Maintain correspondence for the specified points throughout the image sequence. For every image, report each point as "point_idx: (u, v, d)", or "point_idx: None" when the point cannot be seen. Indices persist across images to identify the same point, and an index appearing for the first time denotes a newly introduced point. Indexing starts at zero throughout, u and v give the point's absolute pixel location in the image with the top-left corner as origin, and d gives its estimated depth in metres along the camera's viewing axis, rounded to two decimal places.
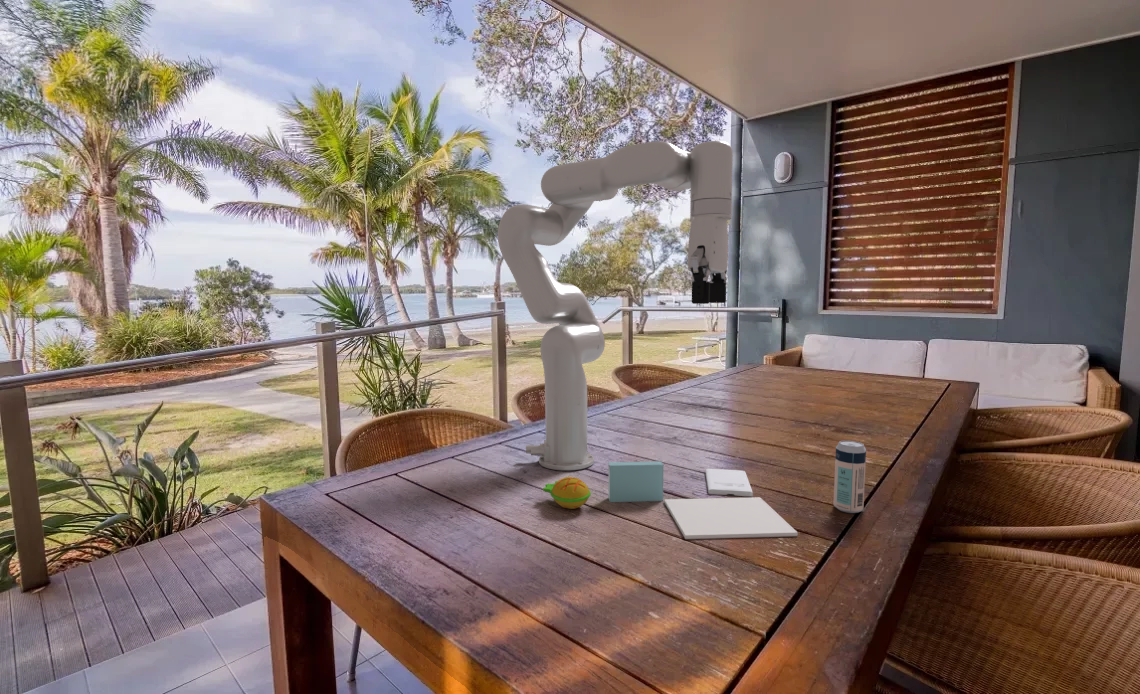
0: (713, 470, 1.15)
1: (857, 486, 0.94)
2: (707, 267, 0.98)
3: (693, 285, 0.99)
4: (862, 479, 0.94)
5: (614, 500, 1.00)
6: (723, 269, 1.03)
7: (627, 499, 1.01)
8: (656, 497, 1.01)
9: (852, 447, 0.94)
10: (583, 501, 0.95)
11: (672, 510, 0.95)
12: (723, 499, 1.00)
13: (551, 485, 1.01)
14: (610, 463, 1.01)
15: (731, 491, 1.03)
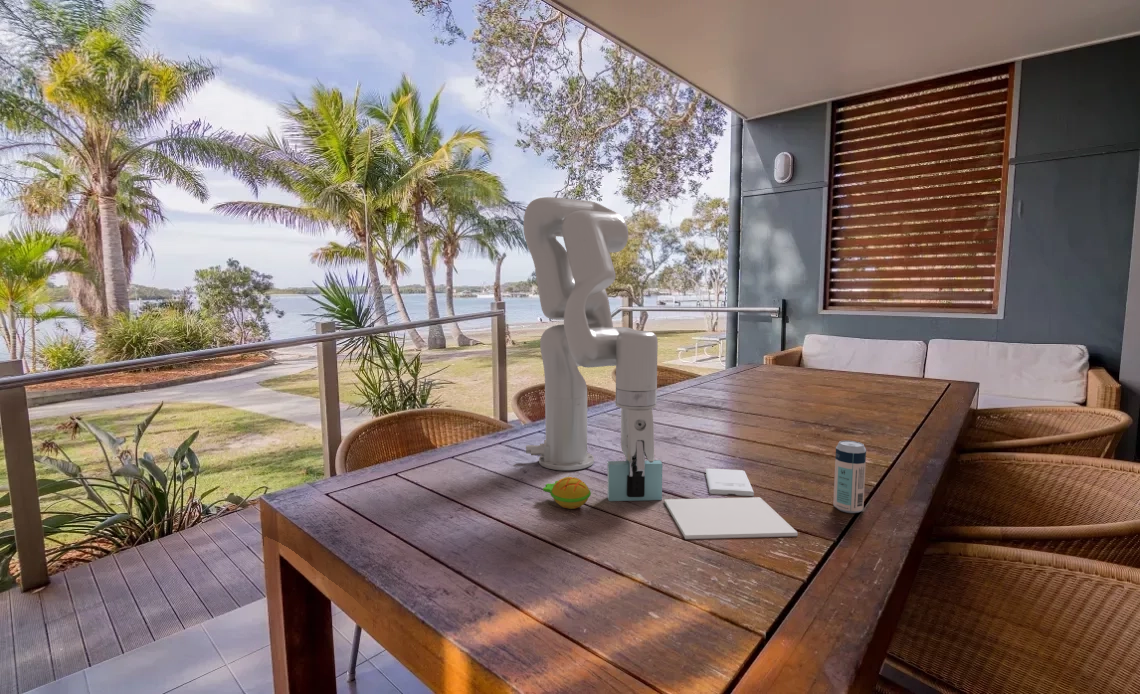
0: (713, 470, 1.15)
1: (857, 486, 0.94)
2: None
3: None
4: (862, 479, 0.94)
5: (613, 499, 1.01)
6: (626, 457, 0.99)
7: (626, 498, 1.01)
8: (655, 496, 1.01)
9: (852, 447, 0.94)
10: (583, 501, 0.95)
11: (672, 510, 0.95)
12: (723, 499, 1.00)
13: (551, 485, 1.01)
14: (609, 462, 1.01)
15: (732, 491, 1.04)
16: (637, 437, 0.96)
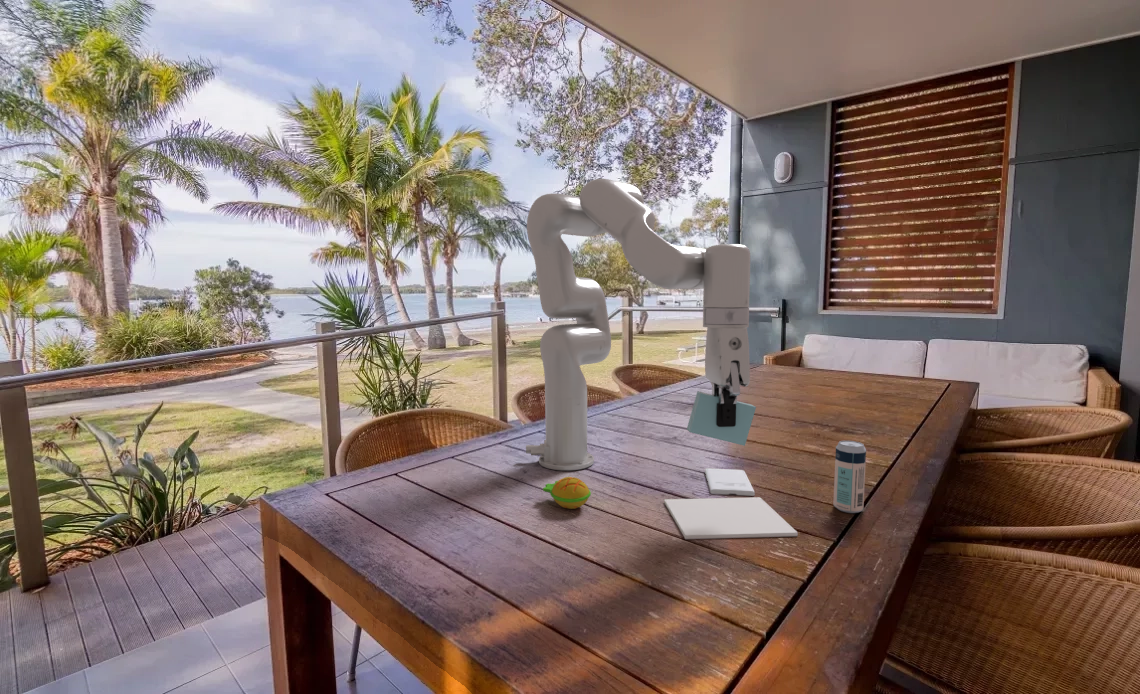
0: (713, 470, 1.15)
1: (857, 486, 0.94)
2: None
3: None
4: (862, 479, 0.94)
5: (695, 431, 0.93)
6: (716, 382, 0.91)
7: (708, 434, 0.93)
8: (739, 440, 0.93)
9: (851, 447, 0.94)
10: (583, 501, 0.95)
11: (672, 510, 0.95)
12: (723, 499, 1.00)
13: (551, 485, 1.01)
14: (700, 392, 0.93)
15: (733, 491, 1.04)
16: (732, 357, 0.88)
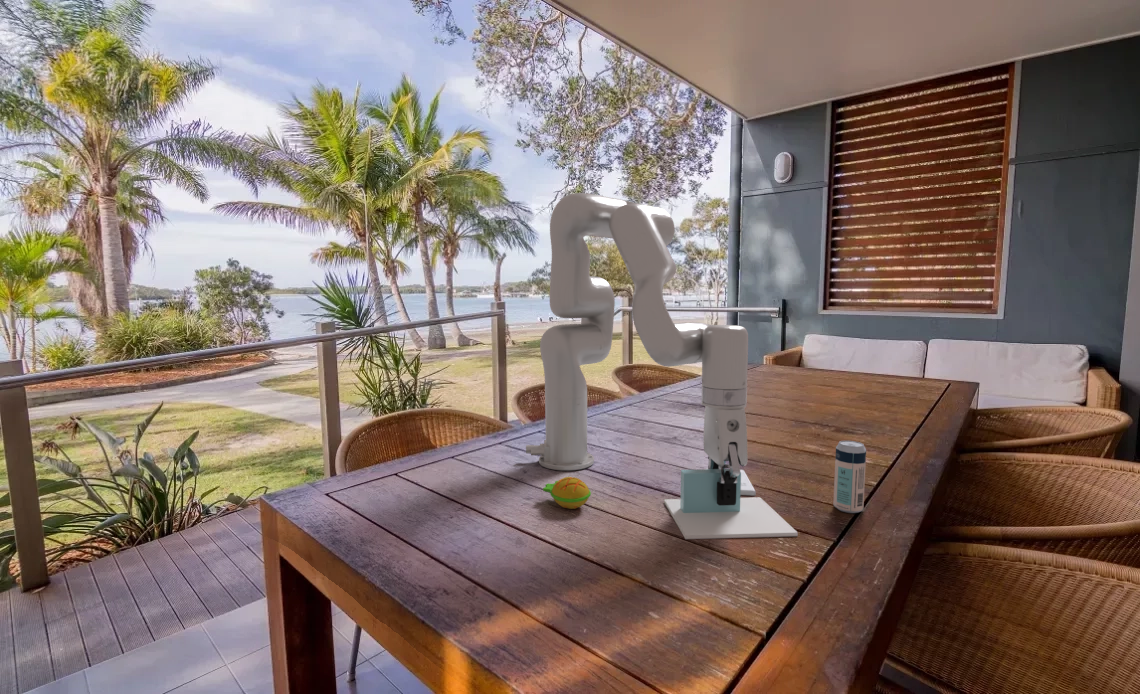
0: None
1: (857, 486, 0.94)
2: None
3: None
4: (862, 479, 0.94)
5: (688, 510, 0.94)
6: (714, 461, 0.92)
7: (702, 509, 0.94)
8: (733, 507, 0.94)
9: (852, 447, 0.94)
10: (583, 501, 0.95)
11: (672, 510, 0.95)
12: None
13: (551, 485, 1.01)
14: (683, 471, 0.94)
15: None
16: (730, 438, 0.89)
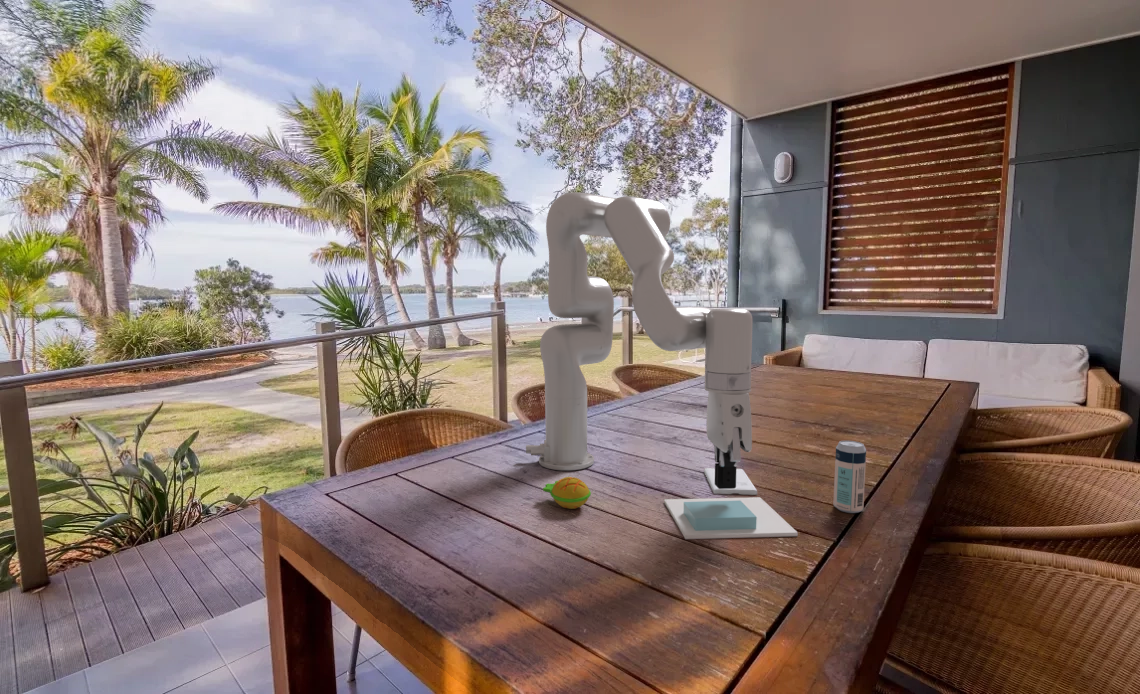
0: (712, 469, 1.15)
1: (857, 486, 0.94)
2: None
3: None
4: (862, 479, 0.94)
5: None
6: (718, 447, 0.90)
7: None
8: None
9: (852, 447, 0.94)
10: (583, 501, 0.95)
11: (672, 510, 0.95)
12: (723, 499, 1.00)
13: (551, 485, 1.01)
14: (696, 523, 0.86)
15: (736, 490, 1.04)
16: (734, 423, 0.87)
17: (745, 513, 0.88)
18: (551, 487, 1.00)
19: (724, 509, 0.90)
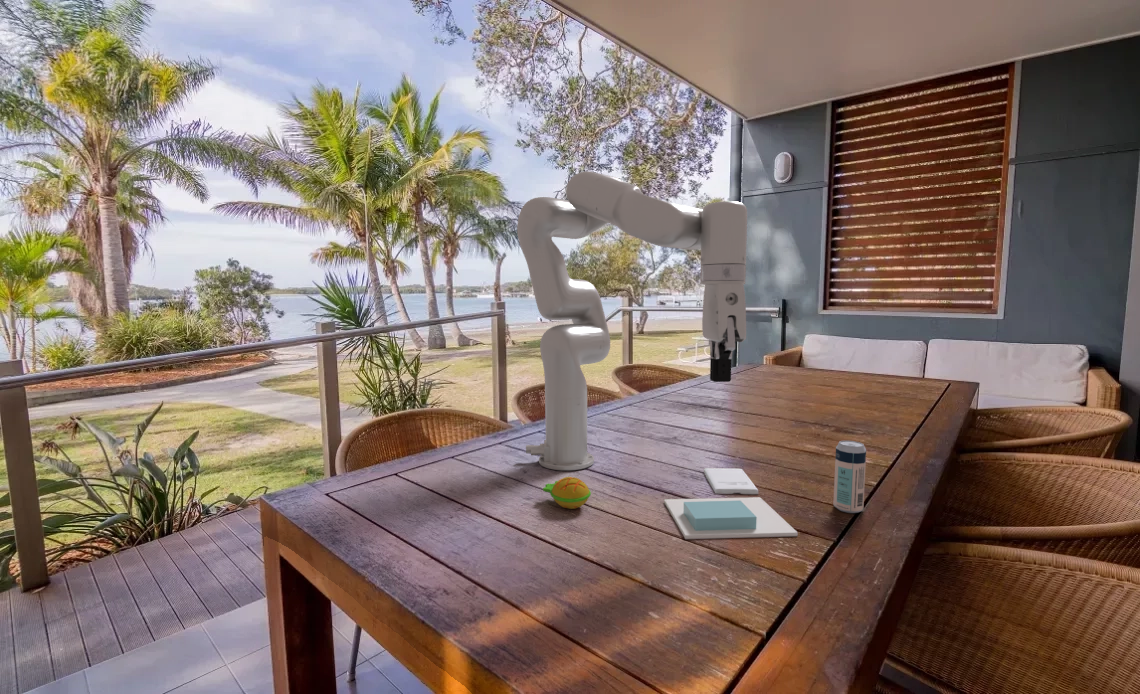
0: (712, 469, 1.15)
1: (857, 486, 0.94)
2: None
3: None
4: (862, 479, 0.94)
5: None
6: (713, 338, 0.92)
7: None
8: None
9: (852, 447, 0.94)
10: (583, 501, 0.95)
11: (672, 510, 0.95)
12: (723, 499, 1.00)
13: (551, 485, 1.01)
14: (696, 523, 0.86)
15: (738, 490, 1.04)
16: (729, 312, 0.89)
17: (745, 513, 0.88)
18: (551, 487, 1.00)
19: (724, 509, 0.90)
